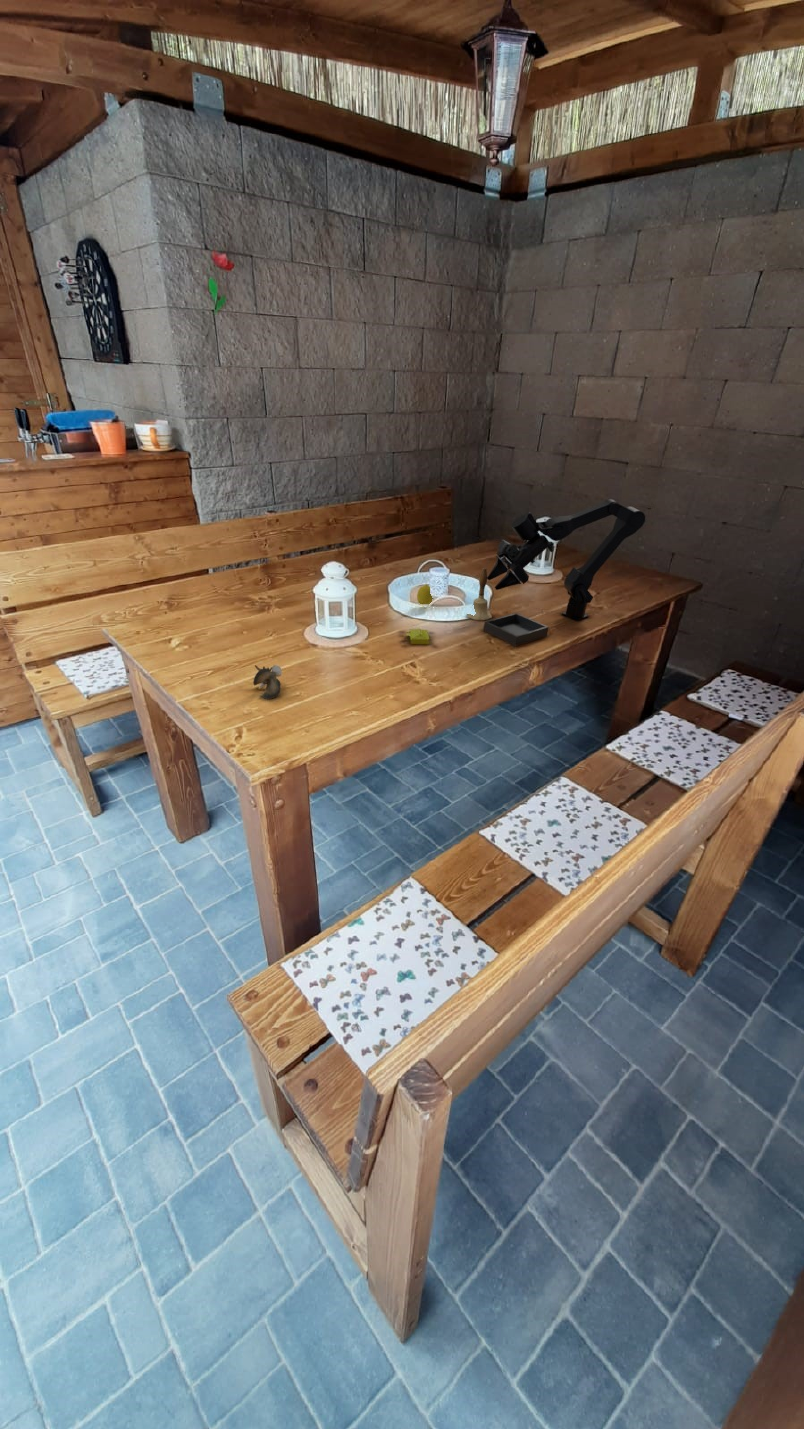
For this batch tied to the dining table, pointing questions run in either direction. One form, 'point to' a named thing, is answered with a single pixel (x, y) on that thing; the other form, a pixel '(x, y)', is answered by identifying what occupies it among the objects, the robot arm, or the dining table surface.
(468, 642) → the dining table surface
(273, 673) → the dark creature figurine
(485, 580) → the hand bell
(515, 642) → the bin
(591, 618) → the dining table surface
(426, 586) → the olive green oval piece
